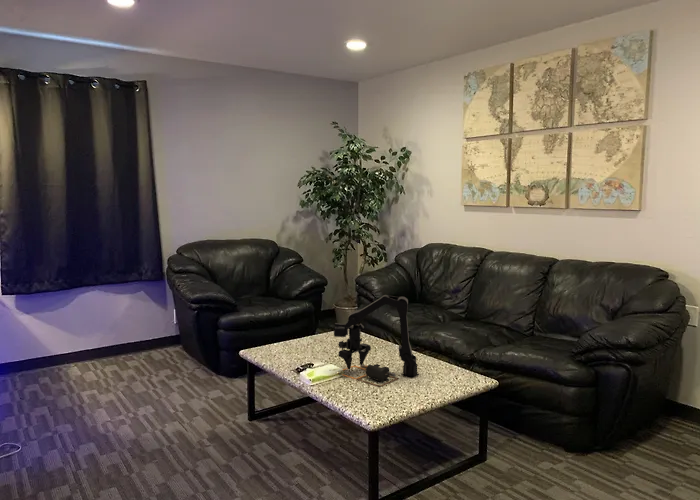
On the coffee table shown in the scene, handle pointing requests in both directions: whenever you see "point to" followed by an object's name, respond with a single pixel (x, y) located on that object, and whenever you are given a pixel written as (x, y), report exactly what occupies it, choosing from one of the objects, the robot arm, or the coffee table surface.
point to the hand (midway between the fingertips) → (355, 367)
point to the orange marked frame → (353, 377)
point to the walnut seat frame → (376, 384)
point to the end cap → (377, 372)
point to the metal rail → (386, 373)
